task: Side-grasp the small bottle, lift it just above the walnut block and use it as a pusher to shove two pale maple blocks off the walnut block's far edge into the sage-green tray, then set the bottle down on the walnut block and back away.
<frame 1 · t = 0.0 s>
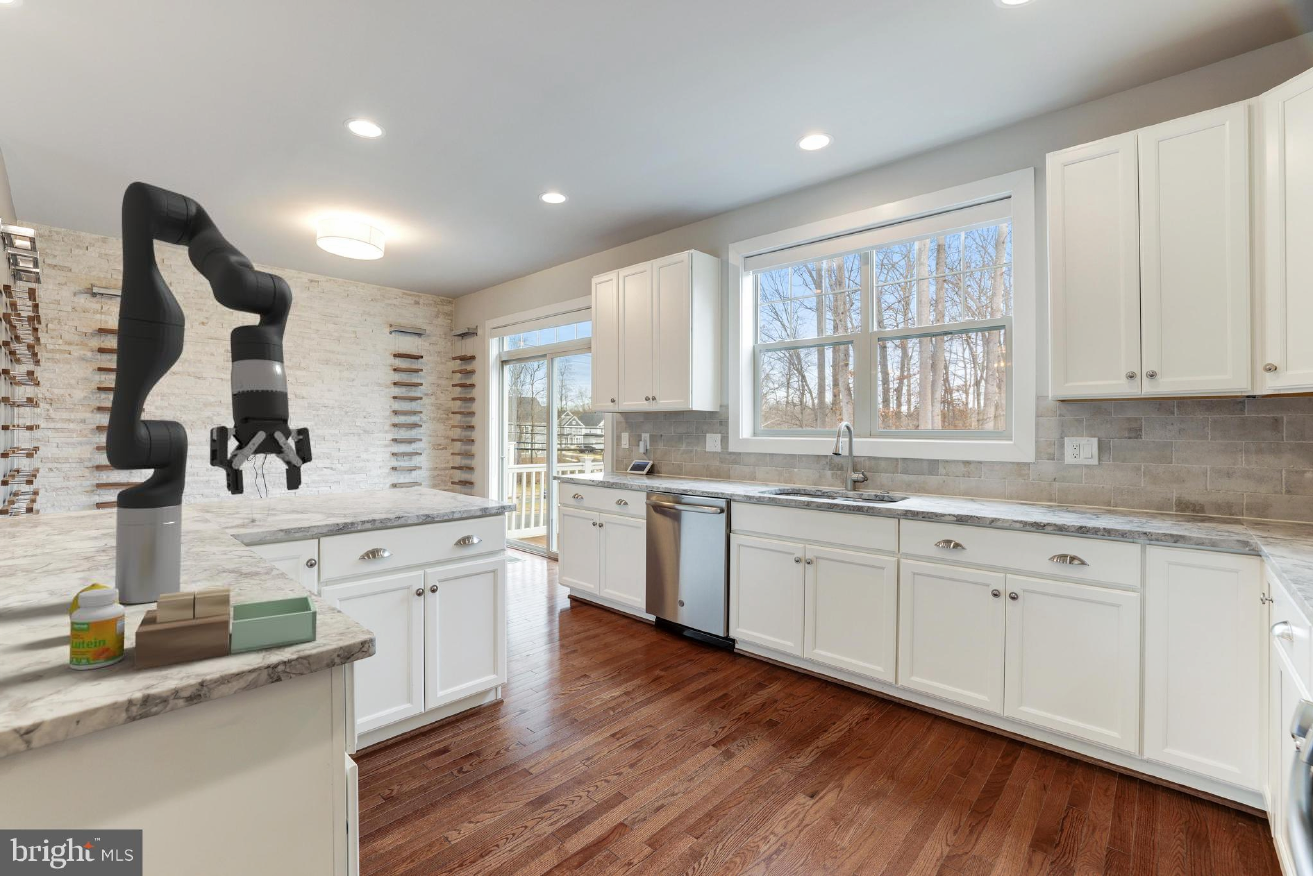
hand: (266, 492, 93), 22 cm above the counter, tool pointing down, fingers open, 8 cm apart
maple block a: (176, 616, 84), point 5 cm above the counter, touching walnut block
tray: (273, 636, 91), on the counter
supplement bottle: (97, 664, 80), on the counter
lemon: (94, 636, 90), on the counter
walnut block: (186, 649, 85), on the counter
maple block b: (212, 612, 87), point 5 cm above the counter, touching walnut block
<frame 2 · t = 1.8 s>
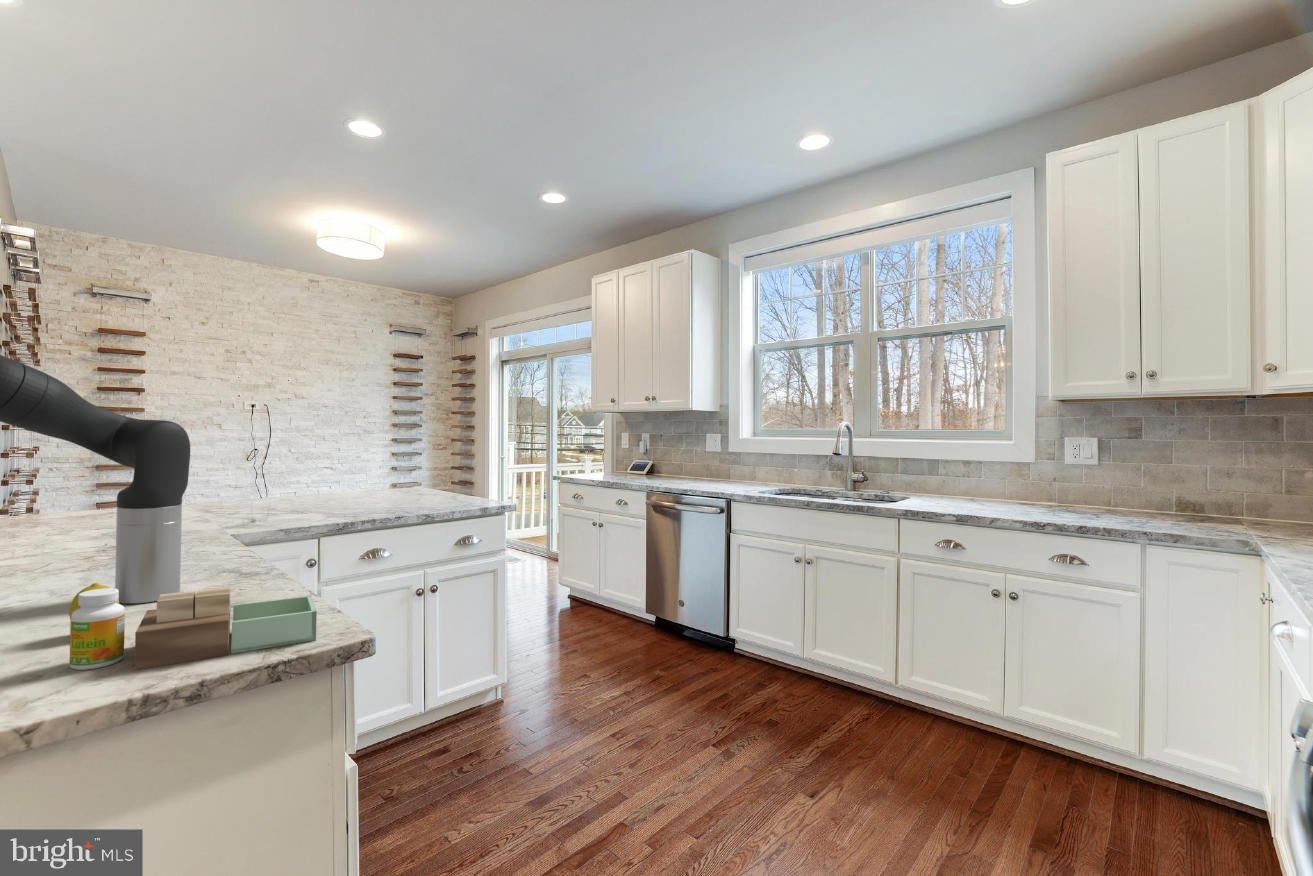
nothing on the counter moved.
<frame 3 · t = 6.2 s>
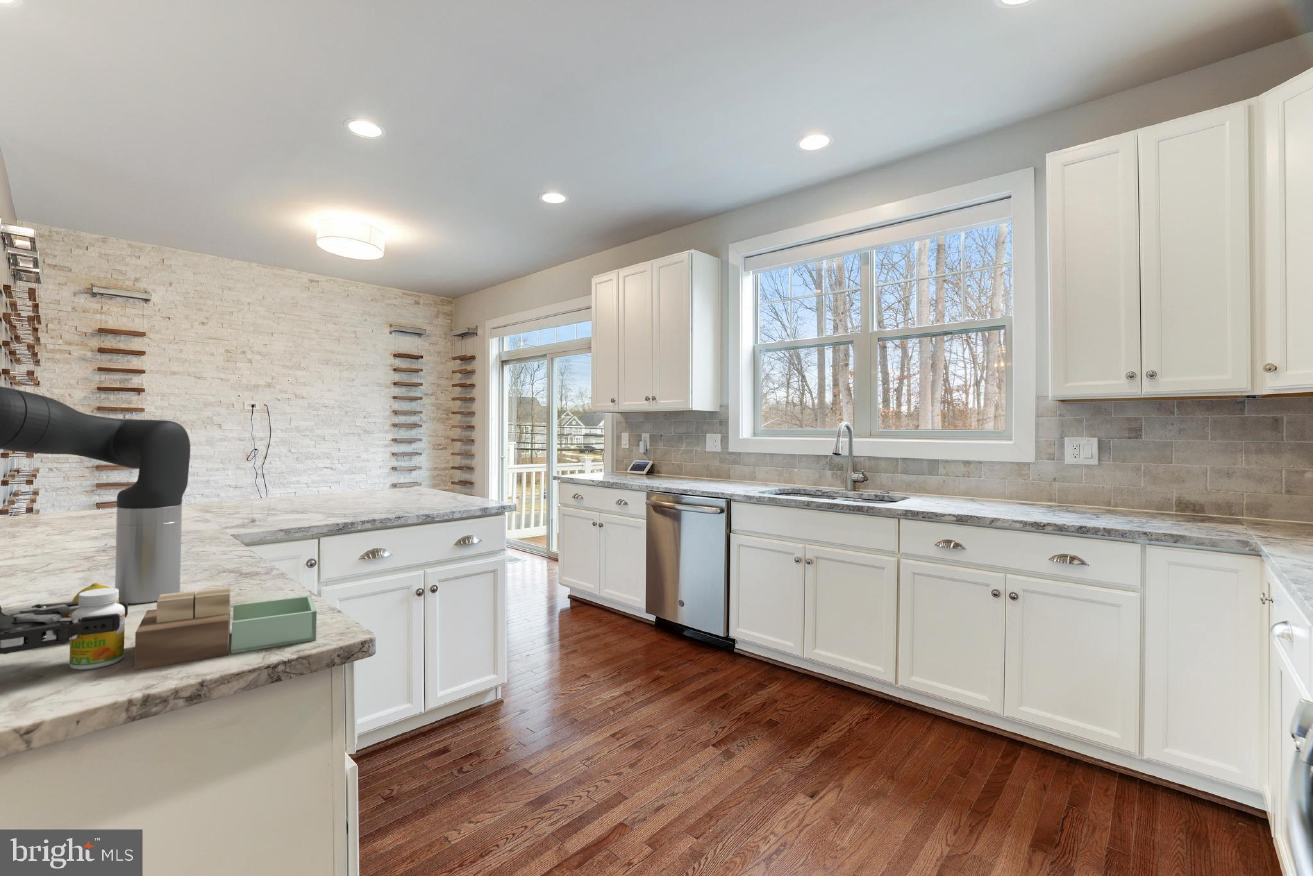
hand: (123, 615, 81), 6 cm above the counter, tool horizontal, fingers closed on supplement bottle, 5 cm apart
supplement bottle: (97, 664, 80), on the counter, touching gripper
everything else where it was.
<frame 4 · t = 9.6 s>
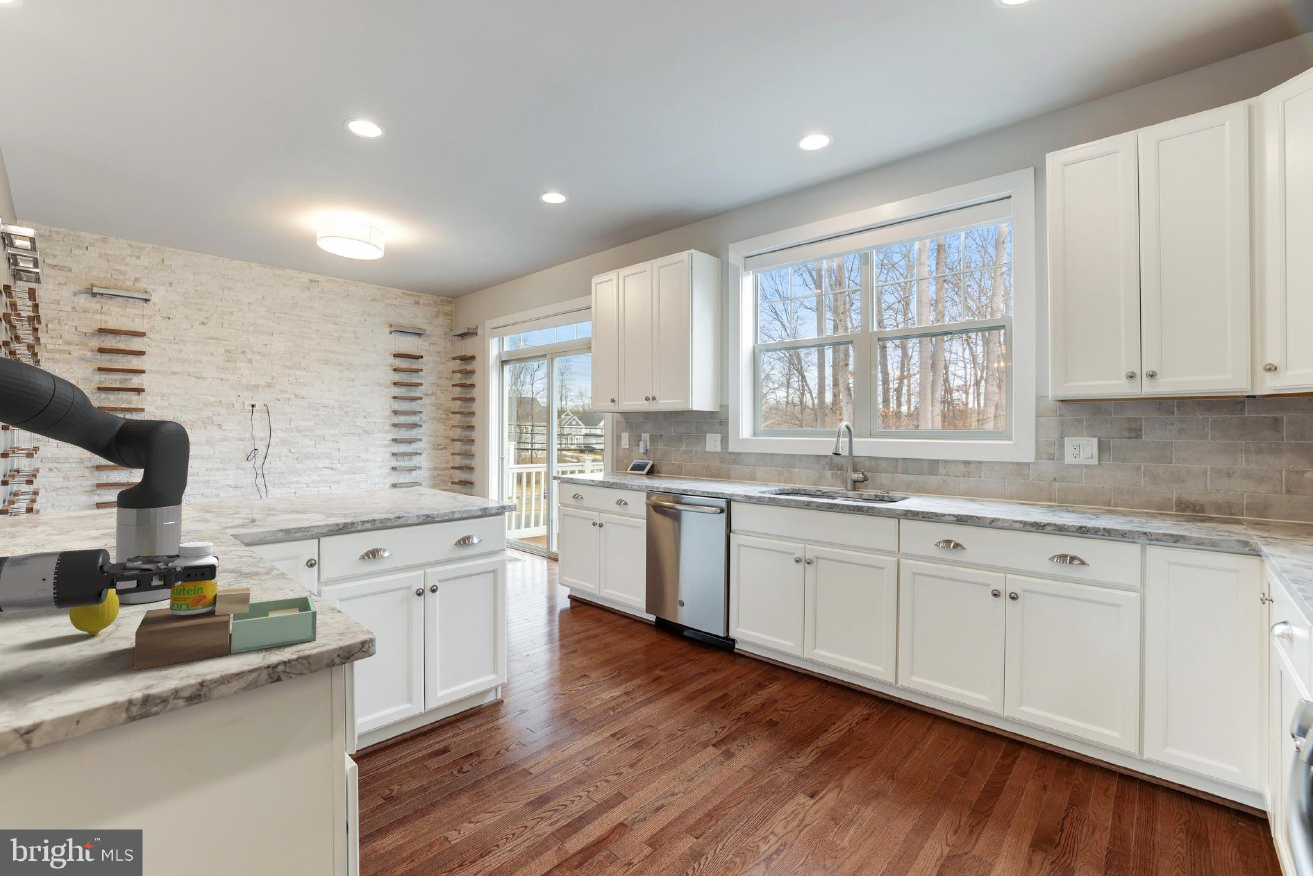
hand: (216, 567, 87), 12 cm above the counter, tool horizontal, fingers closed on supplement bottle, 5 cm apart
maple block a: (232, 610, 88), point 5 cm above the counter, touching walnut block
supplement bottle: (193, 611, 85), point 5 cm above the counter, touching gripper
maple block b: (283, 613, 92), point 3 cm above the counter, tilted 180°, touching tray
everything else where it was.
when the fingers open (12 cm above the counter, at t = 10.9 s): supplement bottle stays where it is, resting on walnut block.
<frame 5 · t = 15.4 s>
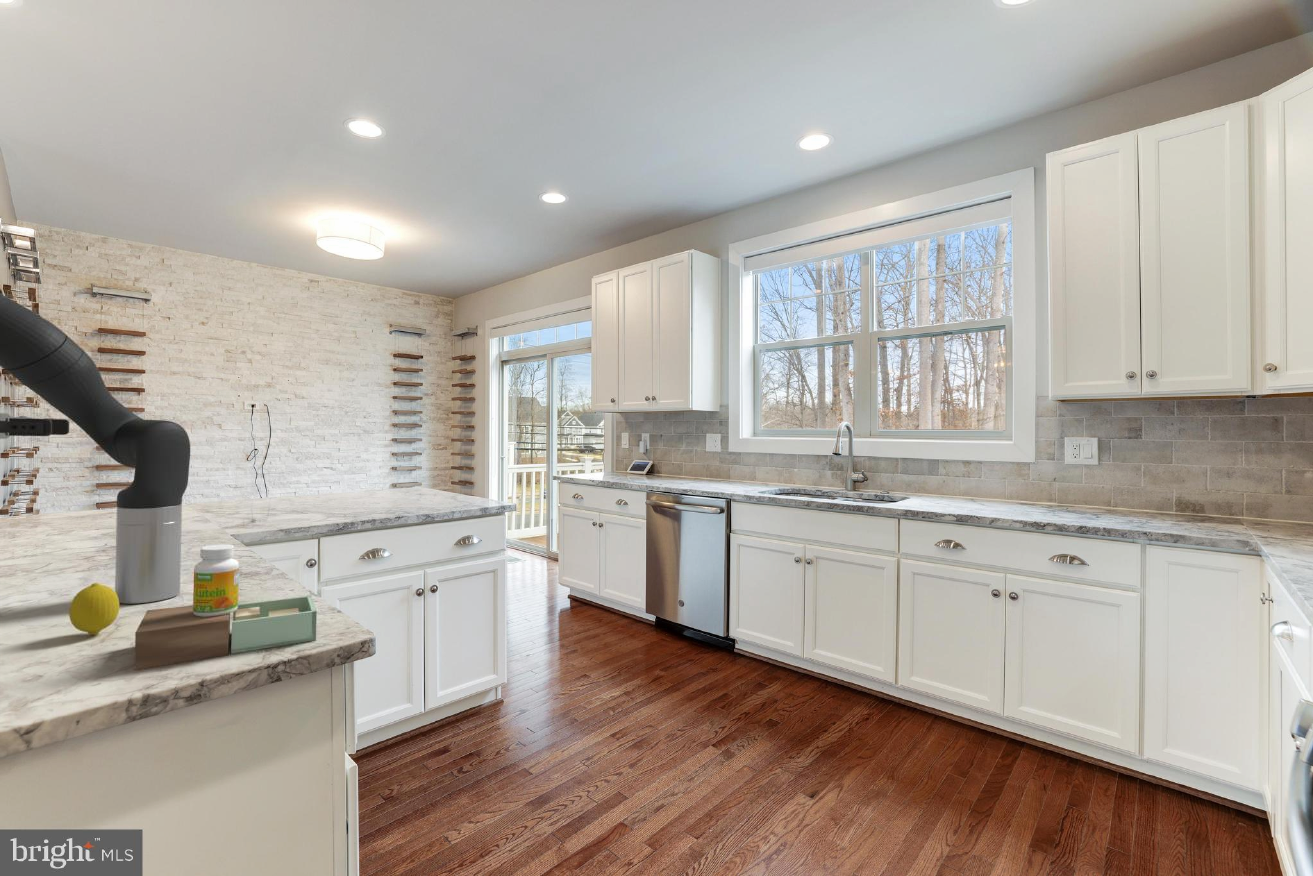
hand: (60, 427, 79), 32 cm above the counter, tool horizontal, fingers open, 8 cm apart
maple block a: (235, 626, 88), point 2 cm above the counter, tilted 90°, touching tray
supplement bottle: (215, 613, 87), point 5 cm above the counter, touching walnut block
everything else where it was.
at the end: maple block a inside the target area on the tray (4.8 cm from its centre), point 2.5 cm above the tray's base; maple block b inside the target area on the tray (1.4 cm from its centre), point 3.5 cm above the tray's base; the gripper is holding nothing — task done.
